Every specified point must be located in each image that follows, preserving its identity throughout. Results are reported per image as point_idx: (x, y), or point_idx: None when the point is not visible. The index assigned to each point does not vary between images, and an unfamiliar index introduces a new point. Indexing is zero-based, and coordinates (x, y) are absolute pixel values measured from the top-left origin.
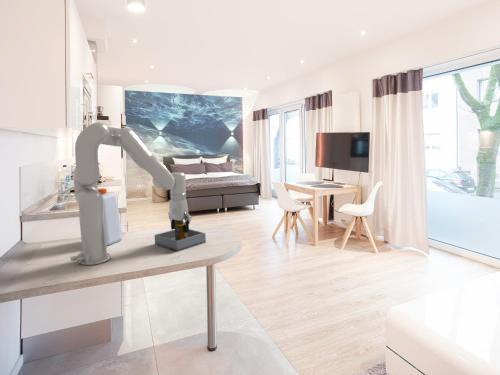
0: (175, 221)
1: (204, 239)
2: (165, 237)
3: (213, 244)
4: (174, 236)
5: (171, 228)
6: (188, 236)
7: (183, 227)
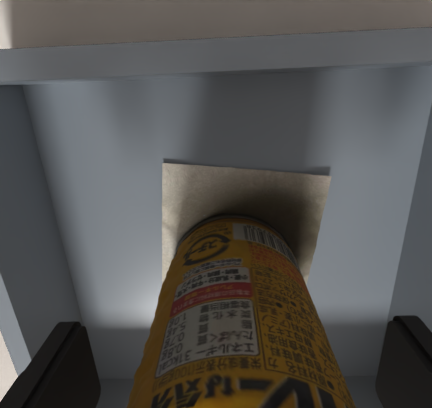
0: None
1: None
2: (254, 64)
3: (9, 376)
4: (398, 302)
5: (414, 325)
6: None
7: (9, 404)
